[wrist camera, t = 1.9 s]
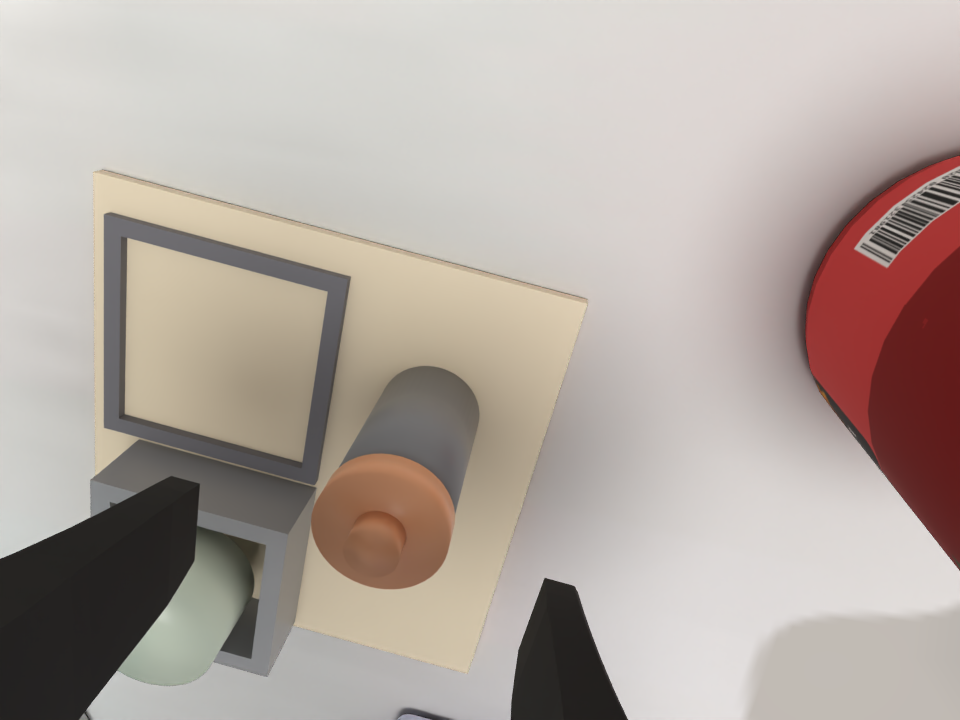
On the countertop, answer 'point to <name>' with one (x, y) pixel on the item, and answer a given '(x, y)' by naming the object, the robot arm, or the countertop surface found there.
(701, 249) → the countertop surface
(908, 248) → the canned food
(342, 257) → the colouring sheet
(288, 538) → the button housing
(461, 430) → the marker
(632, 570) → the countertop surface
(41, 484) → the countertop surface
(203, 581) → the button
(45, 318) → the countertop surface
